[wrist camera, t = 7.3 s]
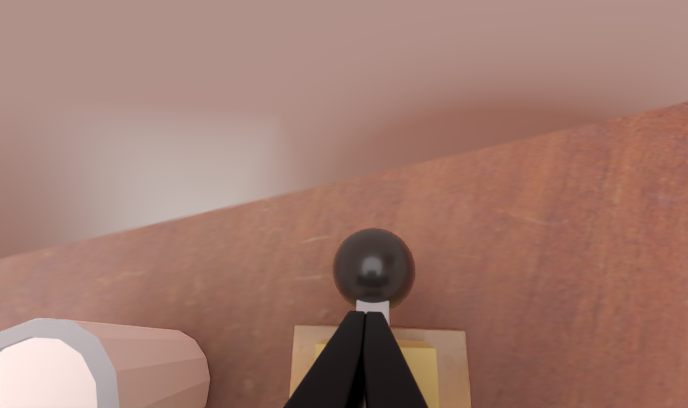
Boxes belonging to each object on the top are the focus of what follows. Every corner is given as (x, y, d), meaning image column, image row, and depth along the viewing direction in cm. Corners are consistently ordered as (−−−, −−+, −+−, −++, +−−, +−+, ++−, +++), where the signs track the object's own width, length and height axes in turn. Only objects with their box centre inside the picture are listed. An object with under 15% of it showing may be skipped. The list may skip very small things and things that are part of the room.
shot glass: (72, 440, 17) (-130, 519, 10) (130, 302, 19) (-9, 295, 12) (191, 488, 16) (48, 615, 9) (240, 335, 18) (151, 347, 11)
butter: (425, 340, 15) (436, 348, 12) (428, 416, 14) (441, 447, 11) (330, 337, 16) (314, 343, 12) (327, 409, 15) (309, 437, 11)
